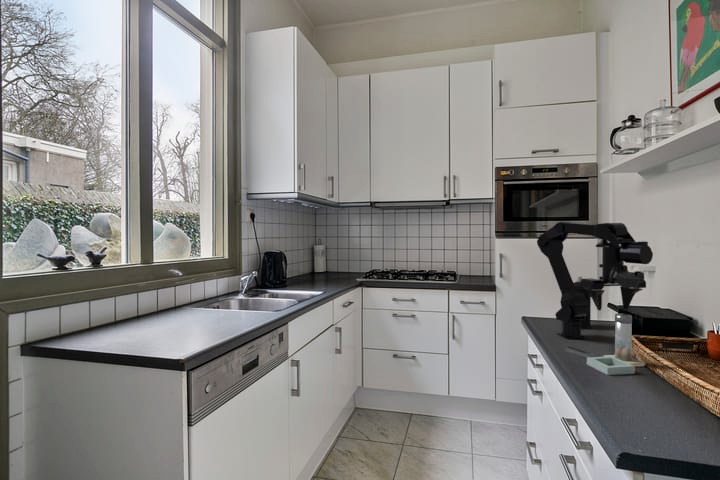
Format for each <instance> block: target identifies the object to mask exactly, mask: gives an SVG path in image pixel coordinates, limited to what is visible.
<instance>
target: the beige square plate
mask: <svg viewBox="0 0 720 480" xmlns="http://www.w3.org/2000/svg"><path fill="white" fill-rule="evenodd" d="M607 356H613V357H615V354H609V355H608V354H605V355H603V357H607ZM624 362H627V363H629V364H631V365H633V366H635V368H636V367H637V368H638V367H645V364H646V362H644V361H641V360H639V359H637V358H634V357H633V356H631V361H624Z"/></svg>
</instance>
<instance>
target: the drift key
mask: <svg viewBox="0 0 720 480" xmlns="http://www.w3.org/2000/svg"><path fill="white" fill-rule="evenodd" d="M565 352H567V353H570V354H573V355H577V356H580V357H583V358H586V359H587V358H588V357H595V354H594V353H592V352H589V351H585V350H581V349H578V348H576V347H575V348H574V347H571V346H567V347H565Z"/></svg>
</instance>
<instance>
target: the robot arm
mask: <svg viewBox="0 0 720 480" xmlns="http://www.w3.org/2000/svg"><path fill="white" fill-rule="evenodd" d="M569 234H575V235H576V234H577V235H585V236H592V237H594V238H595V239H599V240H600V241H599V242H598V243H597V244H596V245H595V247H596V248H602V250H601V251H602V253H601V255H602V256H601V257H602V258H601V259H602V263H599V265H598V267H599V268H601V273H602V274H601V276H599V279H597V278H593V277H590V278H582V280H581V282H580V287H583V288H584V290H587V291H588V293H589V294H590V296H591V300H592V301H593V303H594V306H595V307H596V309H597V311H601V310H602V307H603V303H602V302H603V301H602V300H603V298H602V297H603V294H604V293H605V289H603V288H605V287H619V289H620V295H621V300H622V307H623V309H624V310H628V309H629V308H630V304H631V302H632V300H633V298H634V296H635V295H636V294H637V293H639V292H640V291H643V289H647V281H646V280H645V273H644V272H643V271H641V270H640V271H639V270H637V271H629V270H628V265H625V264H624V263H626V264H639V265H648V264H650V263H651V262H652V260H653V255H654V253H653V252H652V251H653V250H652V248H651V247H650V246H649V242H648V241H643V240H642V241H636V240H635V238H633V236H632V235H631V234H630V232H629V231H628V227H627V226H626V224H625V223H623V222H604V223H603V222H602V223H596V224H594V223H593V224H591V223H578V222H570V221H559V222H557V223H556V224H555V225H553V226H552V227H550V228H549V229H547V230H545V231H544V232H543V233H542V234H541V235H539V237H538V238H537V240H536V243H537V246H538V248H539V250H540V252H541V253H542V254H543V255H544V256H545V257H546V258H547V259H548V261H549V263H550V267H551V269H552V272H553V274H554V278H555V280H556V283H557V285H558V288H559V290H560V293H561V296H560V297H561V298H560V307H561V308H560V309H558V310H557V311H556V312H555V315H554V316H555V319H556V320H558V321H560V332H556V334H557V336H560V337H562V338H565V339H566V340H574V339H575V340H577V339H579V340H580V339H585V336H583V335H582V329H581V326H580V320H585V317H586V315H587V314H588V311H589V306H588V305H590V304H589V303H588V301H587V298H586V296H585V294H579V293H578V292H577V290H576V288H575V286H574V281H573V278H572V276H571V274H570V273H571V272H570V271H569V268H568V266H567V263H566V261H565V258H564V256H563V251H564V242H565V241H566V240H567V238H568V236H569Z"/></svg>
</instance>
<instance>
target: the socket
mask: <svg viewBox="0 0 720 480" xmlns="http://www.w3.org/2000/svg"><path fill="white" fill-rule="evenodd" d="M586 365H587V366H590V367H592V368H593V369H595V370H597V371H599V372H601V373H603V374H605V375H607V376H614V375H615V376H617V375H633V374H635V373H636V367H635V366H633V365H631V364H629V363H627V362H624V361H622V360H620V359H618V358H615V357H613V356H607V357H604V356H594V357H588V358H586Z"/></svg>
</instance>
